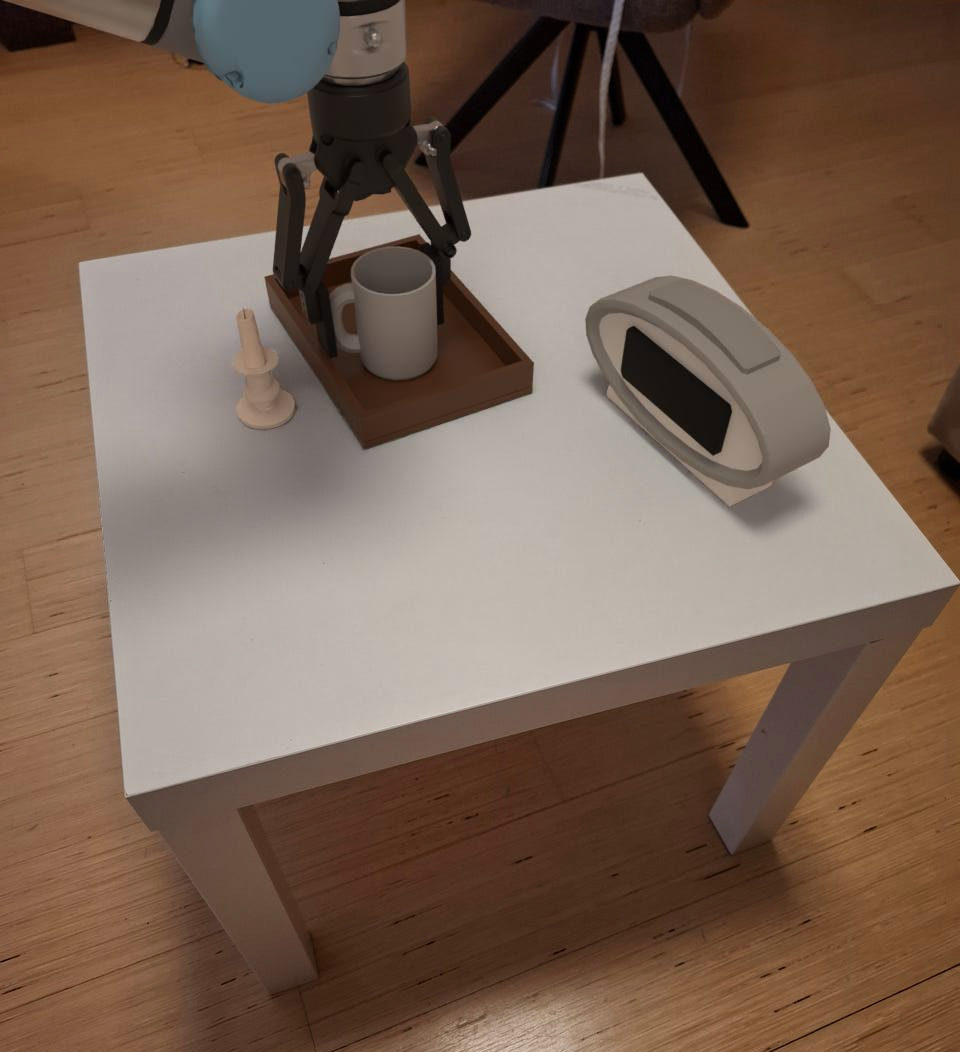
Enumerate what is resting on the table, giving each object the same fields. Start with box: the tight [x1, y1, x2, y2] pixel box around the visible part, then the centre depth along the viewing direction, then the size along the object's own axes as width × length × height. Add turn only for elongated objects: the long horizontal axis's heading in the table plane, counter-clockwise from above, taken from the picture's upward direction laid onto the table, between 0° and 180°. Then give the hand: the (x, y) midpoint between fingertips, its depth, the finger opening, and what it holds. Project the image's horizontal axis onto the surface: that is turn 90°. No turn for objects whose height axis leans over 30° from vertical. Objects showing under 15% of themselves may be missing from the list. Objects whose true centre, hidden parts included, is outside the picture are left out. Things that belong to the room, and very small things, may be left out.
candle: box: [231, 307, 297, 430], centre depth 80 cm, size 5×5×10 cm
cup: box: [329, 246, 438, 381], centre depth 83 cm, size 7×10×9 cm
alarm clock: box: [584, 275, 832, 508], centre depth 77 cm, size 23×6×13 cm, turn 33°
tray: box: [263, 233, 535, 450], centre depth 88 cm, size 24×17×3 cm
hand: (381, 332), depth 85 cm, fingers closed on cup, 10 cm apart
